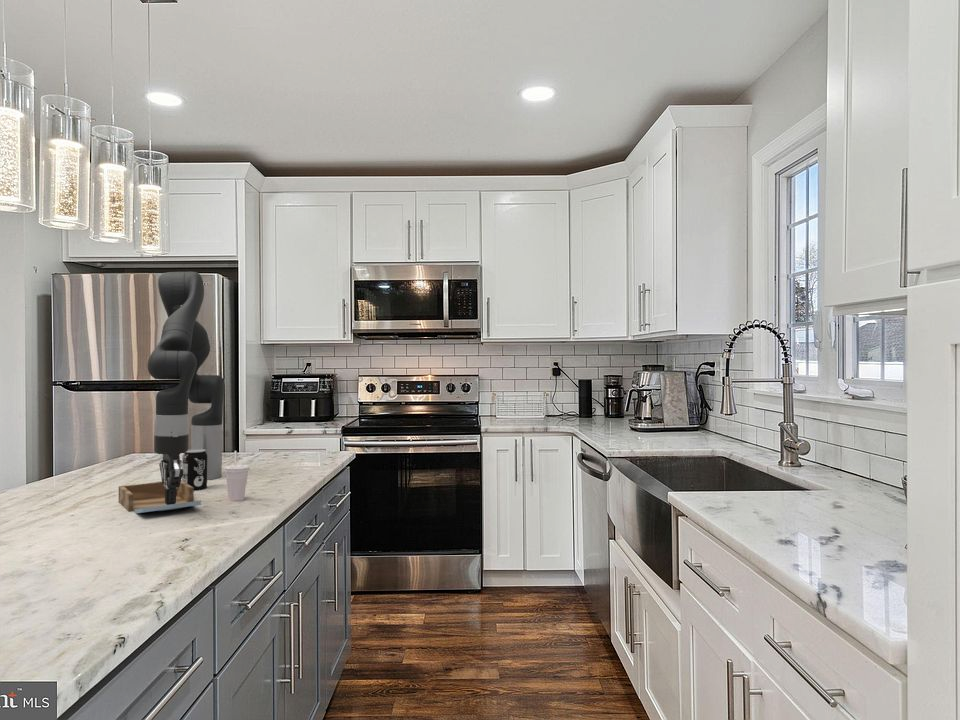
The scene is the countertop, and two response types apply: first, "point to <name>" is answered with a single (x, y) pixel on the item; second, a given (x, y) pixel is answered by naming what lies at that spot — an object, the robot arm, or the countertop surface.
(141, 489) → the tray
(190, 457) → the beverage can
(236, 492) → the smoothie
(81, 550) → the countertop surface
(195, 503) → the flat blue panel
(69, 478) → the countertop surface
